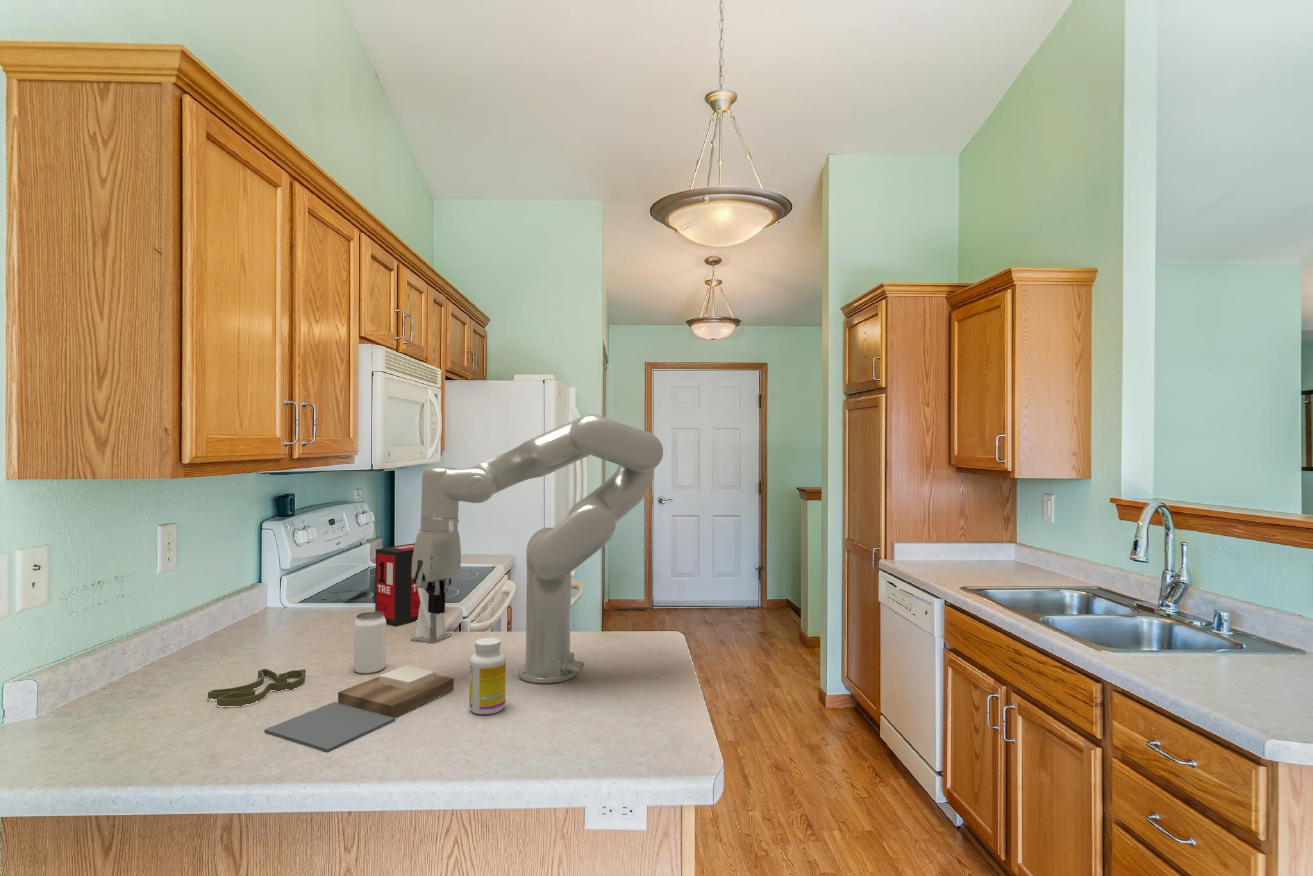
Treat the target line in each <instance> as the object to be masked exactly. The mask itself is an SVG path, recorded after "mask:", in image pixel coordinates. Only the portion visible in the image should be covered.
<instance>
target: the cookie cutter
mask: <svg viewBox="0 0 1313 876" xmlns="http://www.w3.org/2000/svg"><path fill="white" fill-rule="evenodd" d="M306 671H307V670H306V668H304V669H297V670H296V669H293V670H288V671H286V672H283V673H282V672H281V673H279V674H278V673H276V672H274V671H273V670H271V669H269V668H268V669H267V668H263V669H260V670H259V669H258V670H257V679H258V678H261V679H258V680H256V681H253V682H250V683H248V684H245V685H240V686H236V687H229V688H221V689H220V688H219V689H211V690H210V691H208V692H207V699H208V698H209V699H211V698H212V699H217V701H216V706H217V705H219V706H242V705H245V704H251V703H254V702H256V701H260V700H261V699H263V698H264V697H265V696H266V694H267V693H268V692H269V691H270V690H276V691H281V690H285V689H289V690H288V691H290V690H292V691H294V690H295V689H294V688H297V687H299V686H300V687H302V686H304V684H305V683H306V674H307V673H306ZM264 676H268V677H269V678H268V679H270V678H272V679H274V680H275V681H276V682H275V681H274V680H273V681H274V682H270V683H267V684H266V686H265V688H264V689H262V691H261V692H259V693H257V694H256V690H253V689H254V688H257V687H259V686H261V685H262V684H263V683H264V684H265V679H264V678H265V677H264ZM289 678H293V679H295V680H294V681H288V680H287V679H289ZM296 678H297V679H296ZM272 679H271V680H272ZM289 680H290V679H289ZM304 682H305V683H304ZM303 683H304V684H303ZM264 684H263V685H264ZM301 685H302V686H301ZM300 687H299V688H300ZM293 689H294V690H293ZM297 689H298V688H297ZM285 691H286V690H285ZM281 692H282V691H281ZM269 693H270V692H269ZM269 693H268V694H269ZM268 694H267V695H268ZM266 697H267V696H266ZM266 697H265V698H266ZM263 700H264V699H263ZM260 702H261V701H260Z"/></svg>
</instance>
